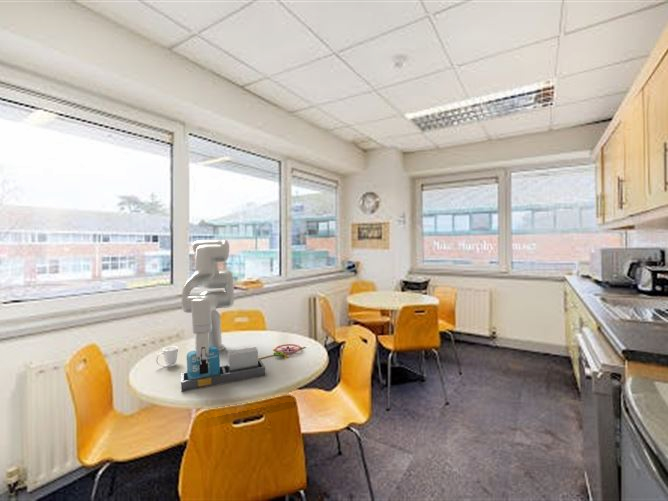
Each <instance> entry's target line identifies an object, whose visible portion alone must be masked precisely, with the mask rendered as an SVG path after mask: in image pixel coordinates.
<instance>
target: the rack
mask: <svg viewBox="0 0 668 501" xmlns="http://www.w3.org/2000/svg"><path fill="white" fill-rule="evenodd" d="M258 358H259V350H258V348H257V347H256V346H253V347H249V348H248V347H246V348H240V349H234V350H228V351H227V364H226V365H222V366H221V365H220V374H219V375H214V376H208V377H203V378H197V379H191V380H189V379H188V375H187V371H185V372H181V373H180V382H181V383H180V384H181V385H180V386H181V388H180V389H181V392H188V391H192V390H193V391H194V390H198V389H203V388H209V387H214V386H219V385H225V384H231V383H236V382H240V381H246V380H253V379H257V378H262V377H266V375H267V373H266V366H265V364H264V363H263V362H262V359H259V360H258Z"/></svg>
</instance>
